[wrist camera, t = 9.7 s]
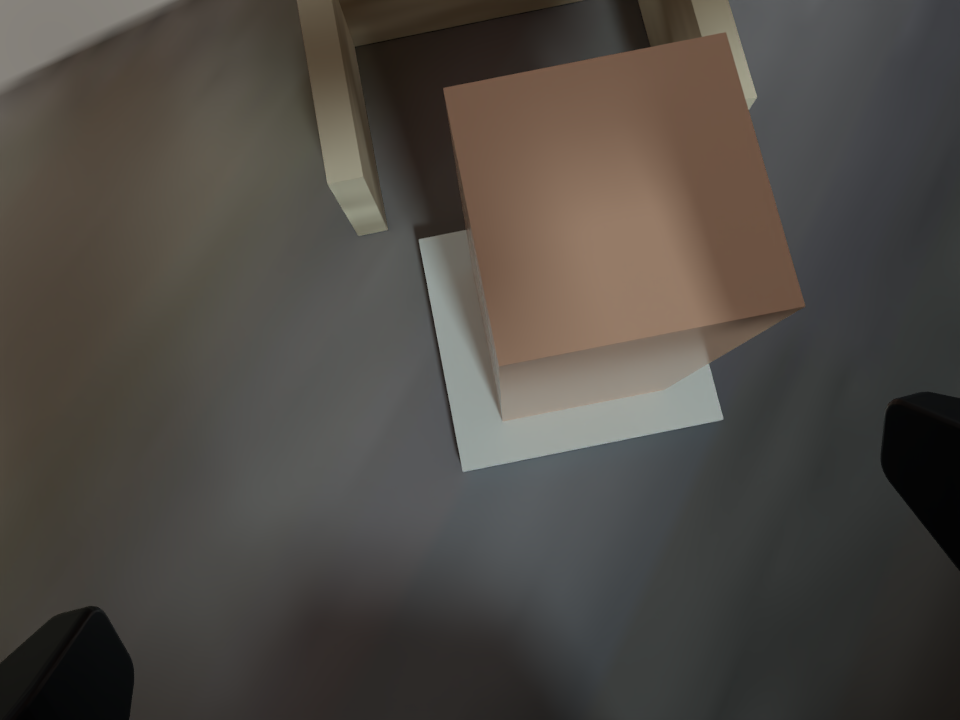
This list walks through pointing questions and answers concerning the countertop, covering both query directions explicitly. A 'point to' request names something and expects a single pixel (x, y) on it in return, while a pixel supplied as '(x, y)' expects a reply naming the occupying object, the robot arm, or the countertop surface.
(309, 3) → the cubby
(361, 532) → the countertop surface
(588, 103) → the brown rectangular block
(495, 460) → the mat
